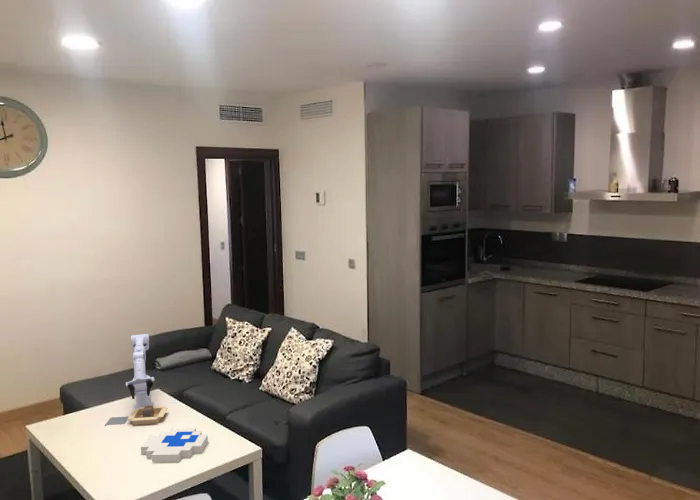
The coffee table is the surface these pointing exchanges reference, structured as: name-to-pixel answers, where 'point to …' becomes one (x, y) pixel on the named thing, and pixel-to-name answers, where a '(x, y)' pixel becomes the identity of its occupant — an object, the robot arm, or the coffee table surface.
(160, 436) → the pixel art tile
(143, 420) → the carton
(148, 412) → the walnut block
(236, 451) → the coffee table surface
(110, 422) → the slate mat
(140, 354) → the robot arm
